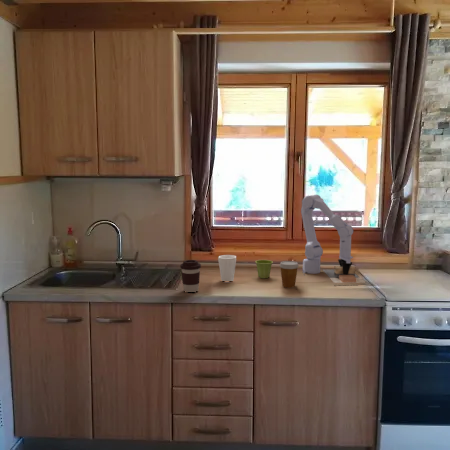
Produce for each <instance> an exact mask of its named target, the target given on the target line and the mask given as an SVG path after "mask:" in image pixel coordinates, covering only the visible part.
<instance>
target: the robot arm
mask: <svg viewBox="0 0 450 450" xmlns="http://www.w3.org/2000/svg"><path fill="white" fill-rule="evenodd" d="M315 209H318V210H320V211H321V212H322V213H323V214H324V215H325V217H327V218H328V219H329V223H330V225H332V227H334V229H335V230H337V234H338V236H339V256H338V259H337V261H338V263H339V266H342V268H343V274H344V275H348V272H349V269H350V266H353V262H352V259H354V256H352V255H351V254H352V235H353V234H354V227H352V225H350V224H348V223H347V222H345V221H344V219H342V216H341V215H339V214H335V213H334V212H333V210H331V208H330V207H329V206H328V205H327V204H326V202H325V201H324V199H323V197H321V196H320V195H319V194H312V195H306V196H304V197H303V198H302V200H301V210H300V213H301V218H302V223H303V229H304V232H305V233H304V234H305V239H306V244H305V248H304V249H305V250H304V255H305V257H306V258H304V259H302V274H303V275H305V274H315V275H316V274H320V273H321V259H322V258H321V257H322V256H323V253H324V250H323V248H322V246H321V242H319V241H318V239H317V235H316V230H315V224H314V219H313V211H314V210H315Z"/></svg>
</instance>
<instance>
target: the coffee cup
mask: <svg viewBox="0 0 450 450" xmlns="http://www.w3.org/2000/svg"><path fill="white" fill-rule="evenodd" d="M179 266H180V269H181V280H182V281H181V282H182V288H183V292H184V291H186V292H195V293H197V292H196V291H199V289H200V288H199V287H200V277H201V276H200V275H201V270H200V269H201V268H202V267H201V266H202V265H201V263H199V262H198V260H195V259H187V260H183V262H182V263H181V264H180V265H179ZM186 292H185V293H186Z"/></svg>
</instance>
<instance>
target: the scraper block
mask: <svg viewBox="0 0 450 450" xmlns="http://www.w3.org/2000/svg"><path fill="white" fill-rule="evenodd" d="M333 270H334V275H335V276H339V275H344V274H343V268H342V266H340V265H338V266H337V265H336V266H334V269H333ZM355 274H356V267H355V266H353V265H351V266H350V269H349V272H348V275H353V276H355Z"/></svg>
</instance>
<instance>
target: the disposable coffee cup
mask: <svg viewBox="0 0 450 450" xmlns="http://www.w3.org/2000/svg"><path fill="white" fill-rule="evenodd" d="M279 267H280V276H281V285H282V287H283V286H284V288H287V287H288V288H291V287H292V288H295V287H296V280H297V274H298V268H299V263H298V262H297V261H293V260H292V261H291V260H284V261H280V264H279ZM292 288H291V289H292Z"/></svg>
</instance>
